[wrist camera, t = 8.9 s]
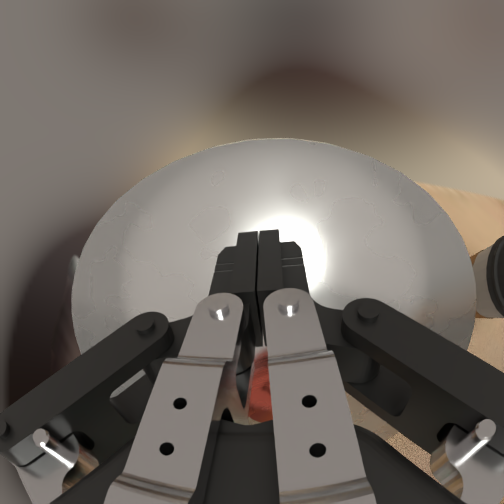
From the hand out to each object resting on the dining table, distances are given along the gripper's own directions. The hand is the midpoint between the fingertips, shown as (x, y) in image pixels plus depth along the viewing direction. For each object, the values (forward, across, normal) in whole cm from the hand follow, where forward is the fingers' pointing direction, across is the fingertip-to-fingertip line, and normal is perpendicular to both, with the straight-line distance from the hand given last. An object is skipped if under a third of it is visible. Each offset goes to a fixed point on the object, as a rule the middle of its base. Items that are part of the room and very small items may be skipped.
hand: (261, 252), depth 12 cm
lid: (+1, 0, +8) cm, 8 cm away
